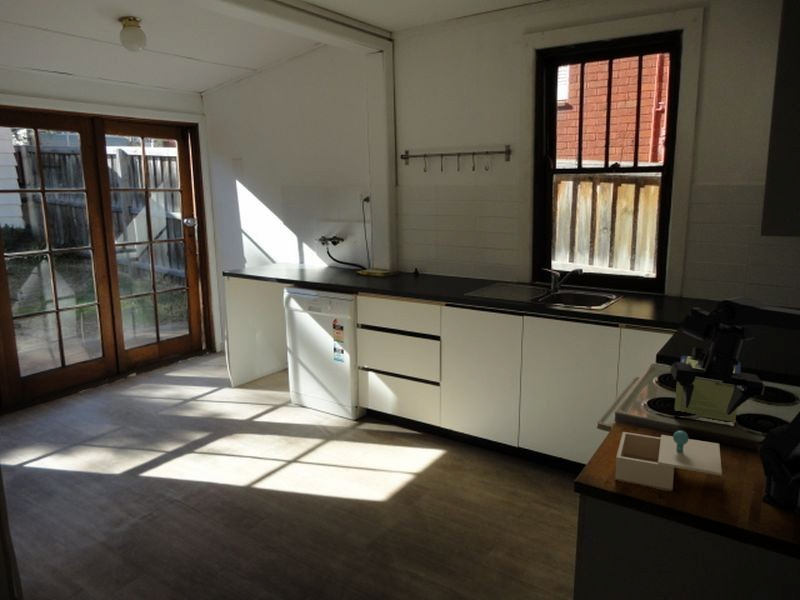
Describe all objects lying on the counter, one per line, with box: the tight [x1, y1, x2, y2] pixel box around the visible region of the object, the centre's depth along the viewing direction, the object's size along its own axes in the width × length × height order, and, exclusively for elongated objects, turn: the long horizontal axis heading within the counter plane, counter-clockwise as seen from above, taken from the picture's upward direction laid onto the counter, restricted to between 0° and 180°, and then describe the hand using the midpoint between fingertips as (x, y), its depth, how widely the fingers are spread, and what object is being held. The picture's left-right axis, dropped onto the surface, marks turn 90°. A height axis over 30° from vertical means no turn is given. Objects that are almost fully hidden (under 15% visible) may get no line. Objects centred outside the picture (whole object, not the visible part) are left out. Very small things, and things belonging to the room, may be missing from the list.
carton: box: [614, 431, 675, 492], centre depth 138 cm, size 12×14×6 cm
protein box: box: [674, 355, 742, 422], centre depth 165 cm, size 10×16×16 cm
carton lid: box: [658, 430, 723, 476], centre depth 132 cm, size 12×14×6 cm
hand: (706, 410), depth 137 cm, fingers open, 9 cm apart
